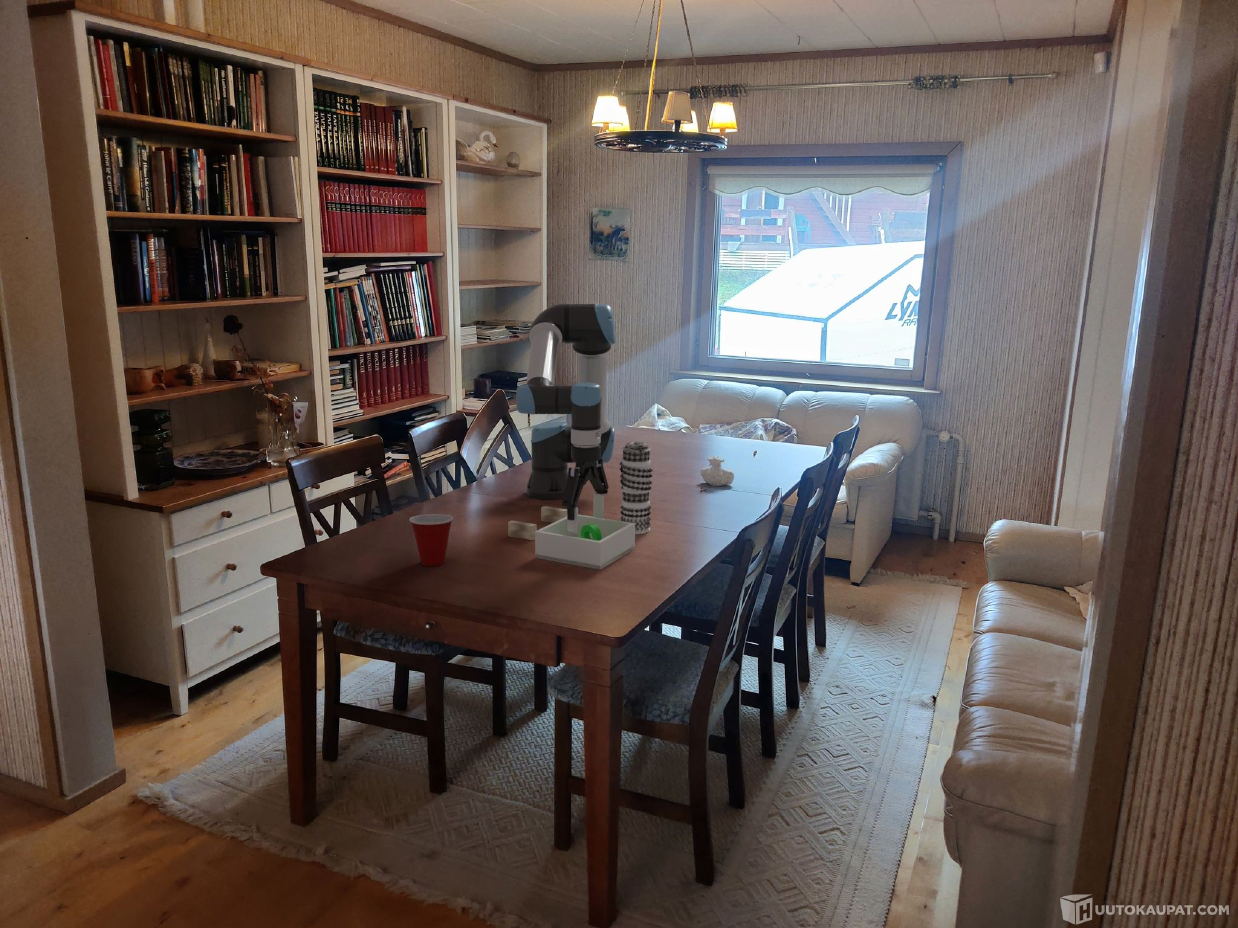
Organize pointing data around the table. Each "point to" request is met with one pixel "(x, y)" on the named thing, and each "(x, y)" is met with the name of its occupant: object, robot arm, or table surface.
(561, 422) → the robot arm
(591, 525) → the mechanical part
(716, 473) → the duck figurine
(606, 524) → the bin
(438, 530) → the plastic cup
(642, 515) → the decorative candle
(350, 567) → the table surface
